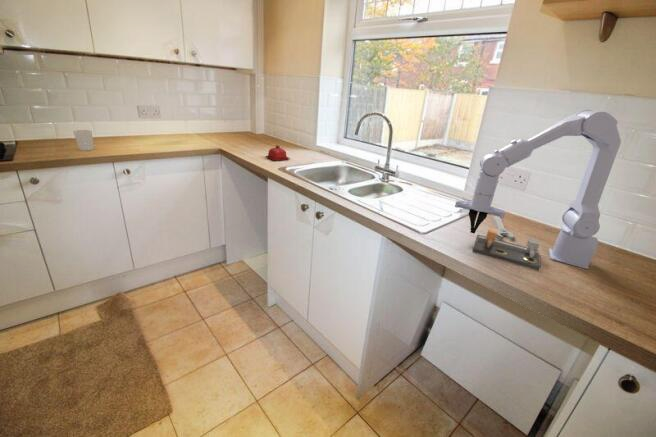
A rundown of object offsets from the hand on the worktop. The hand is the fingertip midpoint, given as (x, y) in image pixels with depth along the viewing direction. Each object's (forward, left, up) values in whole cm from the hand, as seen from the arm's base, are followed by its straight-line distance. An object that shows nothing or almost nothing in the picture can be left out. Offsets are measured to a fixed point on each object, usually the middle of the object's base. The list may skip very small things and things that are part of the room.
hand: (472, 232), depth 104 cm
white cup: (+200, +18, -3) cm, 201 cm away
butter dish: (+115, -44, -4) cm, 123 cm away
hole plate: (-10, +2, -3) cm, 11 cm away
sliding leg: (-5, +2, -2) cm, 6 cm away
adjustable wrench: (-8, -20, -4) cm, 22 cm away
